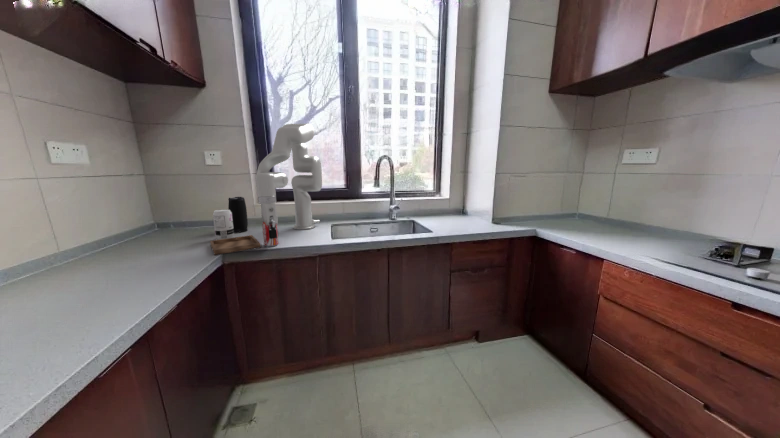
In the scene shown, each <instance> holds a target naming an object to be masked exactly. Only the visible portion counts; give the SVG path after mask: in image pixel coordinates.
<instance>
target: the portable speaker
mask: <svg viewBox="0 0 780 438" xmlns="http://www.w3.org/2000/svg"><path fill="white" fill-rule="evenodd" d="M227 199H228V208H227V210H230V211H231V213H232V219H233V228H234V234H236V233H237V234H239V233H241V232H243V231H245V232H247V231H248V227H249V225H248V224H249V222H248V219H249V218H248V212H247V211H248V210H247V205H246V200H245V197H243V196H235V197H228V198H227Z"/></svg>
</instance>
